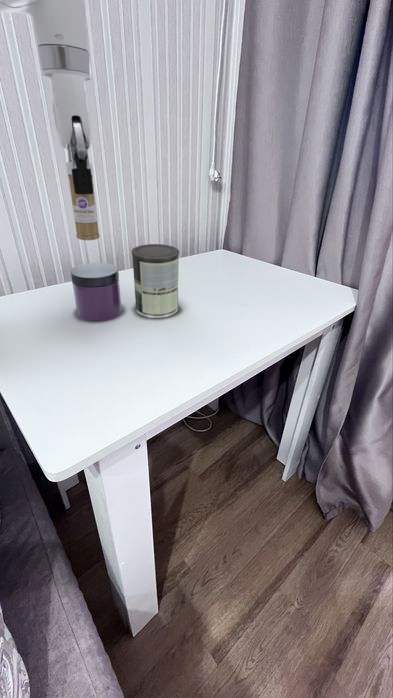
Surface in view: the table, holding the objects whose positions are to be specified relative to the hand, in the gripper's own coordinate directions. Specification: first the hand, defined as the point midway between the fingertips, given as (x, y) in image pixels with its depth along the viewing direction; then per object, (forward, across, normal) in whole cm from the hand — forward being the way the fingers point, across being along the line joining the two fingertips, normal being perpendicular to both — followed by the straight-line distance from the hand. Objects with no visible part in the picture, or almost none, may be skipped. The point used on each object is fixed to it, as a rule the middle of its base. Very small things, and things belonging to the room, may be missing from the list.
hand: (82, 190), depth 62 cm
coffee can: (+26, +2, +14) cm, 29 cm away
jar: (+26, -1, 0) cm, 26 cm away
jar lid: (+16, -1, 0) cm, 16 cm away
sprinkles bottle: (+9, 0, 0) cm, 9 cm away
